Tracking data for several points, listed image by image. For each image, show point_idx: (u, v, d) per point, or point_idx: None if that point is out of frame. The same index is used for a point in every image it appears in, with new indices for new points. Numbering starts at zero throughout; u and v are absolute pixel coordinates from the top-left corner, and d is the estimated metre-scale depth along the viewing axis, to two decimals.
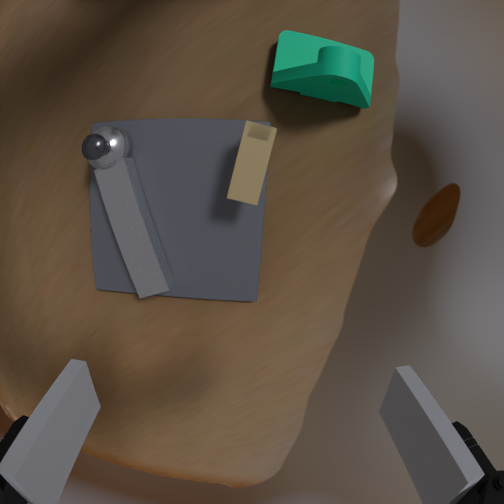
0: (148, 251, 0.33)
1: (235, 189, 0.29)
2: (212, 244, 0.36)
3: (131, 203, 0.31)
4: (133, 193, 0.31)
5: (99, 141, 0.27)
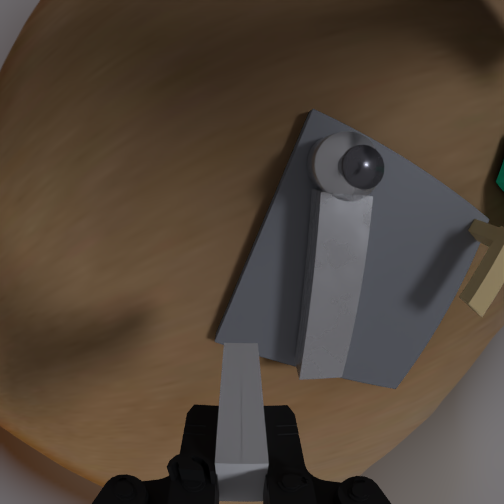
0: (345, 330, 0.24)
1: (478, 296, 0.20)
2: (393, 328, 0.28)
3: (356, 264, 0.22)
4: (365, 252, 0.22)
5: (377, 165, 0.17)
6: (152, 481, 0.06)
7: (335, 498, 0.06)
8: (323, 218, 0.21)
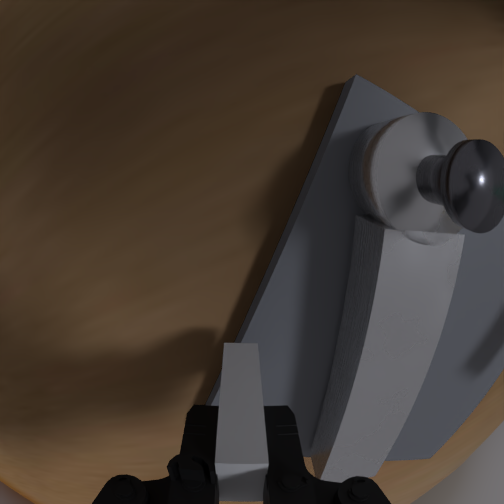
0: (391, 431, 0.13)
1: None
2: (442, 400, 0.17)
3: (425, 347, 0.11)
4: (441, 327, 0.11)
5: (502, 183, 0.07)
6: (152, 481, 0.06)
7: (335, 498, 0.06)
8: (385, 278, 0.10)
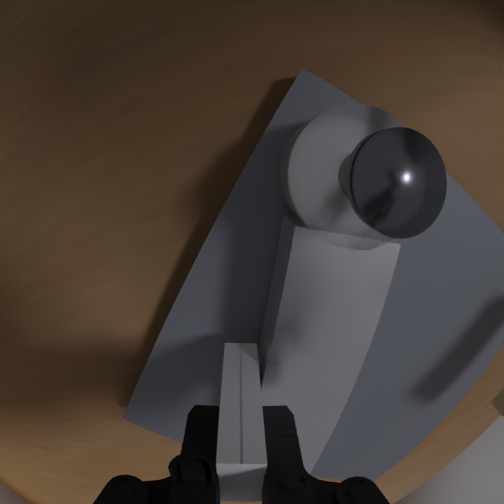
0: (311, 448, 0.13)
1: None
2: (384, 424, 0.17)
3: (347, 364, 0.11)
4: (367, 345, 0.11)
5: (434, 182, 0.07)
6: (153, 481, 0.06)
7: (334, 498, 0.06)
8: (294, 281, 0.10)
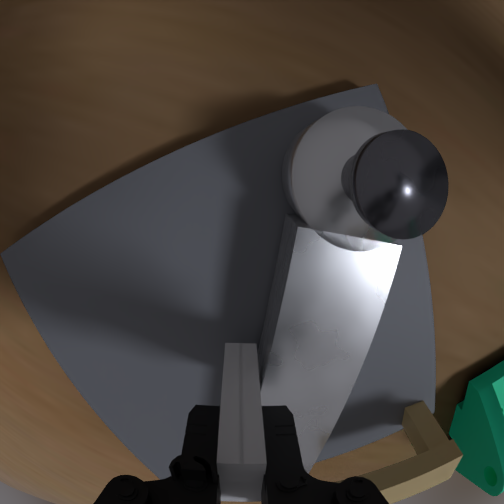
0: (310, 448, 0.13)
1: None
2: None
3: (347, 365, 0.11)
4: (367, 346, 0.11)
5: (436, 184, 0.07)
6: (154, 481, 0.06)
7: (333, 499, 0.06)
8: (296, 280, 0.10)
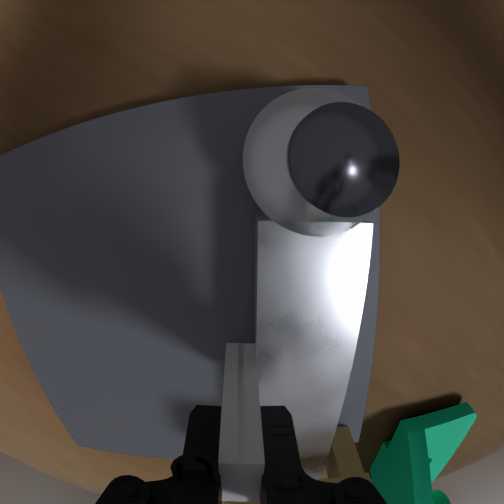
0: (320, 440, 0.13)
1: None
2: (127, 404, 0.16)
3: (339, 352, 0.11)
4: (356, 331, 0.11)
5: (382, 152, 0.07)
6: (155, 481, 0.06)
7: (331, 499, 0.06)
8: (266, 274, 0.10)
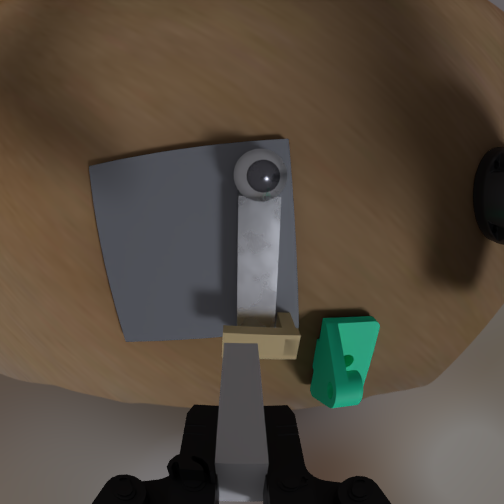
0: (269, 303, 0.31)
1: (233, 338, 0.29)
2: (169, 297, 0.34)
3: (271, 249, 0.30)
4: (278, 240, 0.29)
5: (274, 173, 0.25)
6: (152, 481, 0.06)
7: (335, 498, 0.06)
8: (241, 215, 0.29)
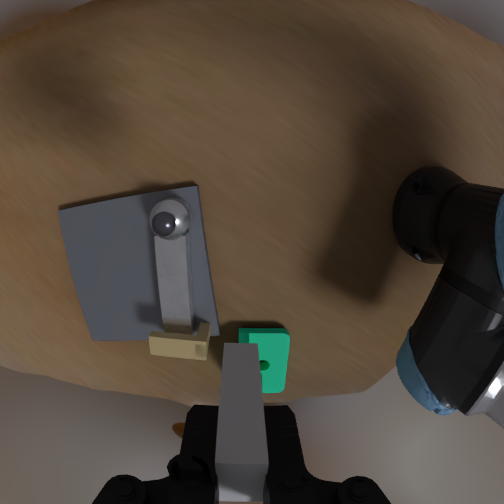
0: (185, 315, 0.40)
1: (156, 341, 0.38)
2: (119, 307, 0.43)
3: (182, 275, 0.38)
4: (186, 268, 0.38)
5: (170, 222, 0.33)
6: (152, 481, 0.06)
7: (335, 498, 0.06)
8: (157, 250, 0.37)
